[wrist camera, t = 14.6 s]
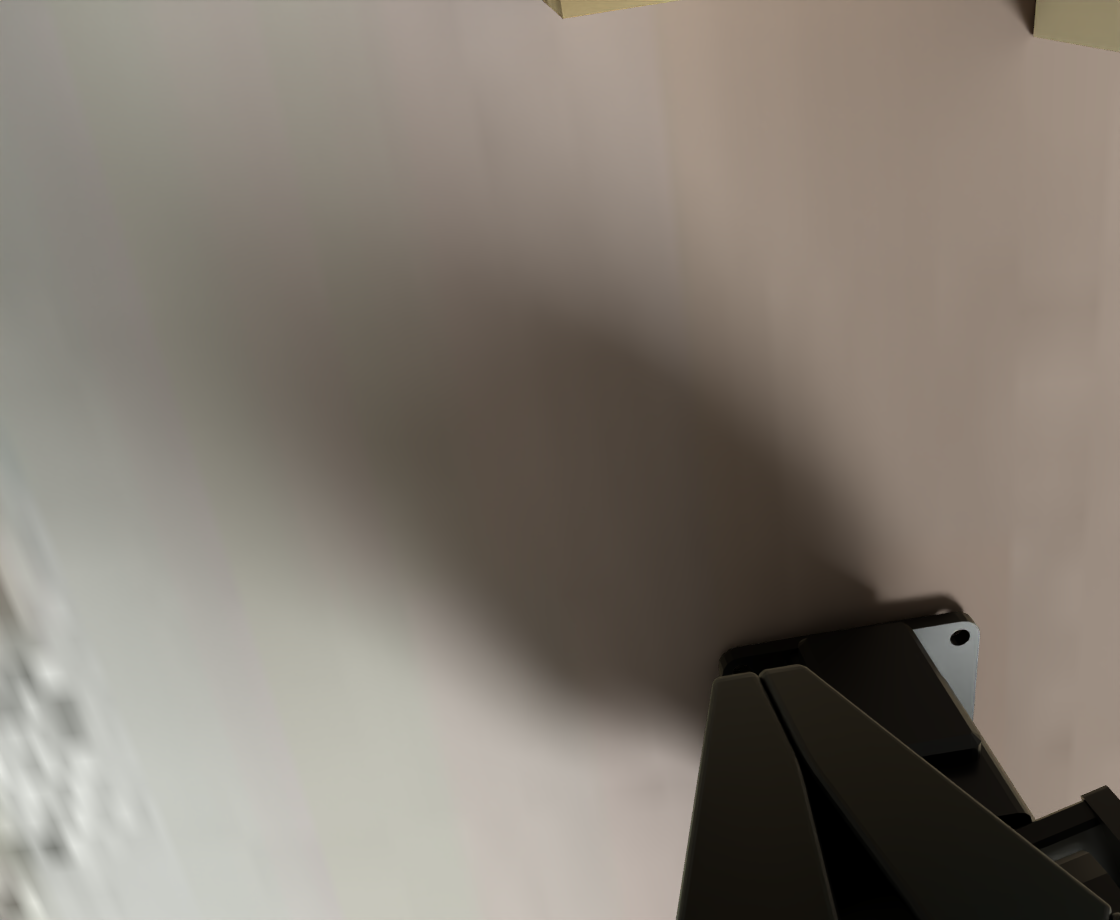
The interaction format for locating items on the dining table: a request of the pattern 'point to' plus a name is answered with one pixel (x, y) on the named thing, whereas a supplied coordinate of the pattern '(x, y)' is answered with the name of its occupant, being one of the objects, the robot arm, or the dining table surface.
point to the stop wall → (1079, 22)
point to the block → (595, 6)
